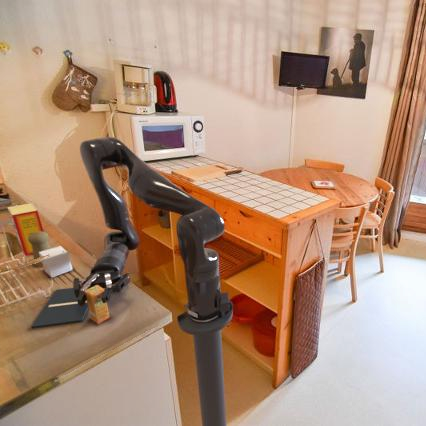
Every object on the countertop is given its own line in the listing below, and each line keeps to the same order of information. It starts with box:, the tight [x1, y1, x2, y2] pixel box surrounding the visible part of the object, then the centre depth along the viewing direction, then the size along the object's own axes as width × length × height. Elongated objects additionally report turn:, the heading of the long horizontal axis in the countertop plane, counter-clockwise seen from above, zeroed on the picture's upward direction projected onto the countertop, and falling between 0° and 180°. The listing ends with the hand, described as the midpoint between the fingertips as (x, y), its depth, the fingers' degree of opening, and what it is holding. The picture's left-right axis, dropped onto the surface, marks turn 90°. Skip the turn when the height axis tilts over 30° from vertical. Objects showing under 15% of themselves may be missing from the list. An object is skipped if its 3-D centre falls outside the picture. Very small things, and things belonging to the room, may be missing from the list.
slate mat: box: [31, 287, 89, 329], centre depth 91 cm, size 11×16×1 cm
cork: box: [28, 231, 52, 267], centre depth 107 cm, size 6×6×11 cm
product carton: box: [39, 245, 73, 278], centre depth 104 cm, size 6×6×7 cm
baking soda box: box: [6, 202, 45, 257], centre depth 113 cm, size 10×6×16 cm
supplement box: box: [84, 285, 110, 325], centre depth 85 cm, size 3×3×10 cm
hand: (92, 301), depth 82 cm, fingers closed on supplement box, 4 cm apart
